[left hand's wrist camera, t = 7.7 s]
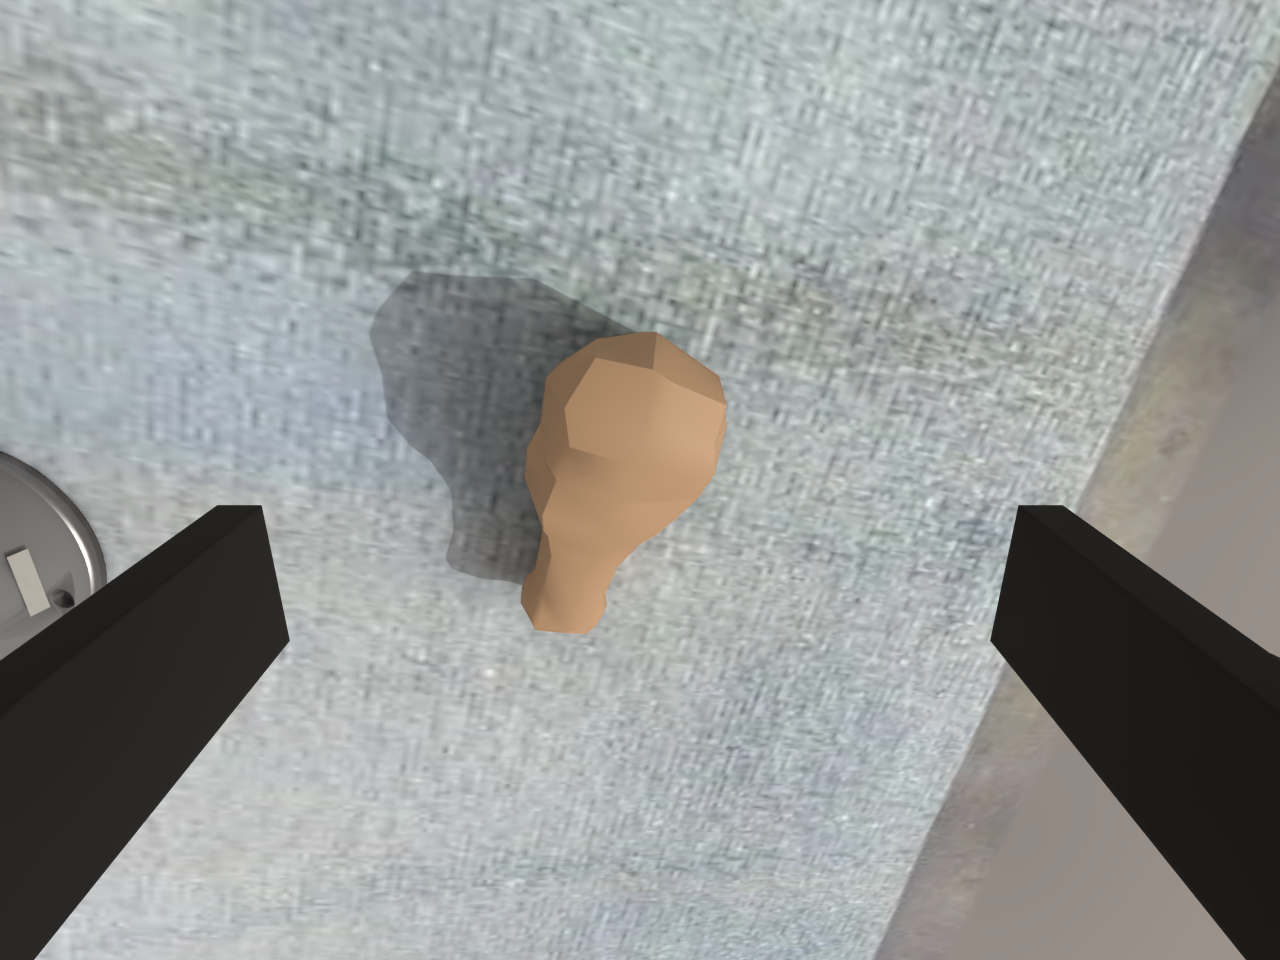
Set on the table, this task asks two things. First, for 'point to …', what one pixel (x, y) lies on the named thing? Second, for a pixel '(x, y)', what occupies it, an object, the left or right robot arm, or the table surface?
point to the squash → (614, 466)
